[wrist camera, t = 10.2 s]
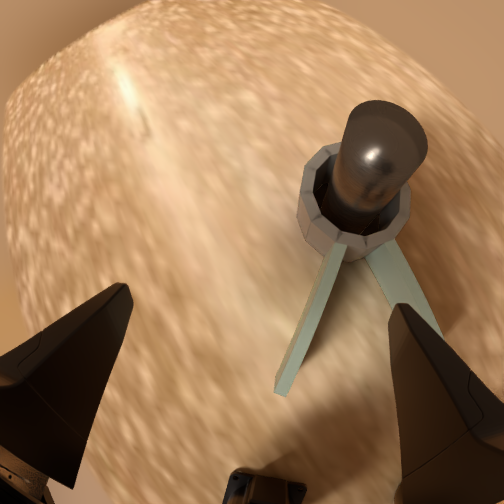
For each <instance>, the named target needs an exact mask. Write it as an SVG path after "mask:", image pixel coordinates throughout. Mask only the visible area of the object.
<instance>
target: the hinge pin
mask: <svg viewBox="0 0 504 504" xmlns="http://www.w3.org/2000/svg"><path fill="white" fill-rule="evenodd" d="M427 149H428V144H427V138H426V135H425V132H424V130H423V128H422V126H421V125H420V123H419V122H418V121H417V120H416V118H415V117H414V116H413V115H412V114H410V113H409V112H408V111H407V110H405V109H404V108H402V107H400V106H398V105H396V104H394V103H391V102H387V101H381V100H372V101H367V102H364V103H361V104H359V105H358V106H356V107H355V108H354V109H353V110H352V112H351V113H350V115H349V118H348V121H347V125H346V128H345V132H344V135H343V138H342V142H341V145H340V149H339V152H338V155H337V159H336V162H335V165H334V168H333V172H332V175H331V178H330V181H329V184H328V187H327V191H326V194H325V197H324V200H323V203H322V206H321V210H320V212H321V215H322V216H324V217H325V218H326V219H327V220H328V221H330V222H331V223H332V224H333V225H334V226H336V227H337V228H338V229H339V230H340V231H343V232H347V233H352V234H357V235H360V234H361V233H362V232H363V231H364V230H365V229H366V227H367V226H368V225H369V224H370V223H371V222H372V221H373V220H374V218H375V217H376V216H377V215H378V214H379V213H380V212H381V211H382V209H383V208H384V207H385V206H386V205H387V204H388V203H389V201H390V200H391V199H392V198H393V197H394V196H395V194H396V193H397V192H398V191H399V190H400V189H401V187H402V186H403V185H404V184H405V183H406V181H407V180H408V179H409V178H410V177H411V175H412V174H413V173H414V172H415V171H416V169H417V168H418V167H419V166H420V165H421V163H422V162H423V161H424V159H425V157H426V154H427Z"/></svg>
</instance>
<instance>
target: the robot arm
mask: <svg viewBox="0 0 504 504" xmlns="http://www.w3.org/2000/svg"><path fill="white" fill-rule="evenodd" d="M132 309H133V299H132V296H131V293H130V290H129V287H128V285H127V284H126V283H119V282H117V283H114V284H113V285H111V286H110V287H108V288H106V289H105V290H103V291H102V292H100V293H99V294H97V295H95V296H94V297H92V298H91V299H89V300H88V301H86V302H85V303H83V304H81V305H80V306H78V307H77V308H75V309H74V310H72V311H71V312H69V313H68V314H66V315H65V316H63V317H62V318H60V319H58V320H57V321H55V322H54V323H52V324H51V325H49V326H48V327H47V328H45V329H44V330H43V331H40V332H39V333H38V334H36V335H35V336H33V337H32V338H30V339H29V340H27V341H26V342H24V343H22V344H21V345H19V346H18V347H16V348H14V349H12V350H11V351H9V352H7V353H6V354H4V355H2V356H0V504H55V503H54V501H53V498H52V496H51V493H50V491H49V488H48V487H47V486H46V484H47V482H48V479H49V477H50V478H52V479H53V480H55V481H57V482H59V483H61V484H62V485H64V486H66V487H68V488H70V489H73V488H74V485H75V482H76V478H77V474H78V470H79V467H80V464H81V460H82V457H83V454H84V450H85V447H86V444H87V440H88V437H89V434H90V431H91V428H92V425H93V422H94V419H95V416H96V413H97V410H98V407H99V404H100V401H101V398H102V396H103V393H104V390H105V387H106V385H107V382H108V379H109V376H110V374H111V371H112V369H113V366H114V363H115V361H116V358H117V356H118V353H119V351H120V348H121V346H122V343H123V340H124V336H125V333H126V329H127V326H128V323H129V319H130V316H131V313H132ZM388 332H389V346H390V363H391V373H392V379H393V386H394V393H395V400H396V408H397V417H398V426H399V437H400V449H401V464H402V494H403V504H504V404H503V403H502V402H501V401H500V400H499V399H498V398H497V397H496V396H495V395H494V394H493V393H492V392H491V391H490V390H489V389H488V388H487V387H486V385H485V384H484V383H483V382H482V381H481V380H480V379H479V378H478V377H477V376H476V374H475V373H474V372H473V371H472V370H471V371H470V368H469V367H468V366H467V364H466V363H465V362H464V361H463V360H462V359H461V358H460V357H459V356H458V355H457V353H456V352H455V351H454V350H453V349H452V348H451V347H450V346H449V345H448V344H447V343H446V342H445V341H444V339H443V338H442V337H441V336H440V335H439V334H438V333H437V332H436V331H435V330H434V329H433V328H432V327H431V326H430V325H429V324H428V323H427V322H426V321H425V320H424V319H423V318H422V317H421V316H420V315H419V314H418V313H417V312H416V311H415V310H414V309H413V308H412V307H411V306H410V305H409V304H408V303H396V304H395V306H394V309H393V311H392V314H391V316H390V319H389V322H388ZM233 476H238V477H239V478H234V477H233ZM299 488H303V489H302V490H299ZM306 491H307V487H306V485H305V484H303V483H295V482H289V481H286V480H282V479H276V478H270V477H265V476H260V475H256V476H255V475H250V474H246V473H241V472H236V471H235V472H232V473H231V475H230V478H229V481H228V485H227V488H226V492H225V496H224V499H223V503H222V504H301V503H302V501H303V498H304V496H305V493H306Z"/></svg>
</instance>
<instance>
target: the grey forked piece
mask: <svg viewBox="0 0 504 504" xmlns="http://www.w3.org/2000/svg"><path fill="white" fill-rule="evenodd" d="M340 145H341V142H339V143H335V144H331V145H327V146H323V147H322V148H321V149H320V150H319V151H318V152H317V153H316V154H315V155H314V156H313V157H312V158H311V159H310V160H309V161H308V162H307V164H306V165H305V166H304V172H303V177H302V183H301V188H300V194H299V202H298V210H297V219H298V222H299V225H300V227H301V230H302V233H303V236H304V238H305V241H306V242H308V243H309V244H310V245H311V246H312V247H313V248H315V249H316V250H317V251H318V252H319V253H320V254H322V255H323V256H324V259H323V262H322V265H321V267H320V270H319V273H318V275H317V278H316V281H315V283H314V286H313V288H312V291H311V293H310V296H309V299H308V301H307V304H306V306H305V309H304V311H303V313H302V316H301V318H300V321H299V323H298V326H297V328H296V330H295V333H294V335H293V338H292V340H291V342H290V345H289V347H288V349H287V352H286V354H285V356H284V358H283V361H282V363H281V365H280V368H279V370H278V372H277V374H276V377H275V385H274V393H276V394H278V395H281V396H284V397H286V396H287V394H288V392H289V390H290V387H291V385H292V383H293V381H294V379H295V377H296V374H297V372H298V370H299V368H300V365H301V363H302V361H303V359H304V356H305V354H306V352H307V349H308V347H309V345H310V342H311V340H312V338H313V335H314V333H315V330H316V328H317V325H318V323H319V320H320V318H321V315H322V313H323V310H324V308H325V305H326V303H327V300H328V298H329V295H330V292H331V290H332V287H333V284H334V282H335V279H336V276H337V273H338V271H339V268H340V265H341V262H342V261H345V262H349V263H350V262H353V261H356V260H359V259H361V258H364V257H365V259H366V261H367V263H368V265H369V267H370V268H371V270H372V272H373V274H374V276H375V278H376V279H377V281H378V283H379V285H380V287H381V289H382V291H383V293H384V295H385V296H386V298H387V300H388V302H389V304H390V306H391V308H392V310H393V309H394V306H395V304H396V303H408V304H409V305H410V306H411V307H412V308H413V309H414V310H415V311H416V312H417V313H418V314H419V315H420V316H421V317H422V318H423V319H424V320H425V321H426V322H427V323H428V324H429V325H430V326H431V327H432V328H433V329H434V330H435V331H436V332H437V333H438V334H439V335H440V336H441V337H442V338H443V339H444V337H443V335H442V332H441V330H440V328H439V326H438V323H437V321H436V319H435V317H434V314H433V312H432V310H431V308H430V306H429V304H428V302H427V300H426V297H425V295H424V293H423V291H422V289H421V287H420V285H419V283H418V281H417V279H416V277H415V276H414V274H413V272H412V270H411V268H410V266H409V264H408V262H407V260H406V259H405V257H404V255H403V253H402V251H401V249H400V248H399V246H398V244H397V242H396V241H395V237H396V236H397V235H398V233H399V232H400V230H401V229H402V228H403V226H404V225H405V223H406V222H407V220H408V219H409V218H410V203H411V189H410V187H409V185H408V182H407V181H406V183H405V184H404V185H403V186H402V187H401V189H400V190H399V191H398V192H397V193H396V194H395V196H394V197H393V198H392V199H391V200H390V201H389V203H388V204H387V205H386V206H385V207H384V208H383V209H382V211H381V212H380V218H379V228H378V232H376V233H373V234H371V235H368V236H361V235H357V234H352V233H347V232H343V231H340V230H339V229H338V228H337V227H336V226H334V225H333V224H332V223H331V222H330V221H328V220H327V219H326V218H325V217H324V216H322V215H321V212H320V210H319V207H318V205H317V202H316V200H315V197H314V195H313V194H314V193H315V192H316V191H317V190H318V189H319V188H320V186H321V185H323V184H326V183H329V181H330V178H331V175H332V172H333V168H334V165H335V162H336V159H337V155H338V152H339V149H340ZM444 341H445V339H444Z"/></svg>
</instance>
